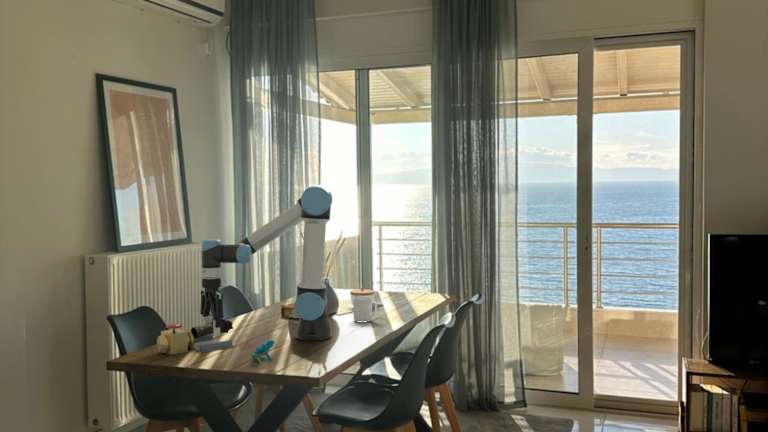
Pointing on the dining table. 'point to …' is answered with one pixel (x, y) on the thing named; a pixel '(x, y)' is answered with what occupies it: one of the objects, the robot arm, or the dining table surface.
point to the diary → (287, 310)
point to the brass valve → (175, 340)
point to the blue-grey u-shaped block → (210, 344)
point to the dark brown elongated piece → (211, 328)
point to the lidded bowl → (362, 293)
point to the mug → (363, 308)
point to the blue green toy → (263, 351)
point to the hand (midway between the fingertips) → (211, 333)
